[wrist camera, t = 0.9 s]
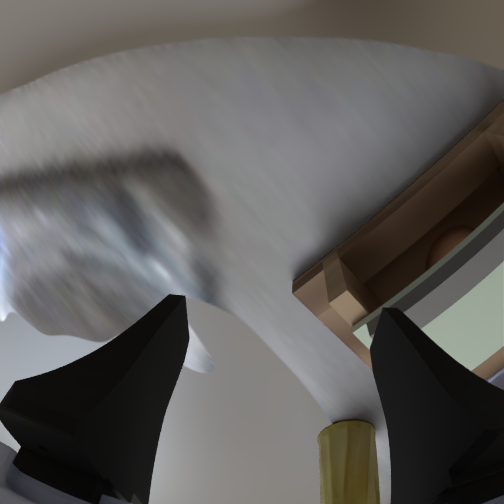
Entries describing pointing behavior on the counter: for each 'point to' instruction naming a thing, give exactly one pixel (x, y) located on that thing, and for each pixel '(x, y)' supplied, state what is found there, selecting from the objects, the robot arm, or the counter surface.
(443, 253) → the tan rounded cylinder
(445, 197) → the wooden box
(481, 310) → the cover
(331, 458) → the vase
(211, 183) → the counter surface
